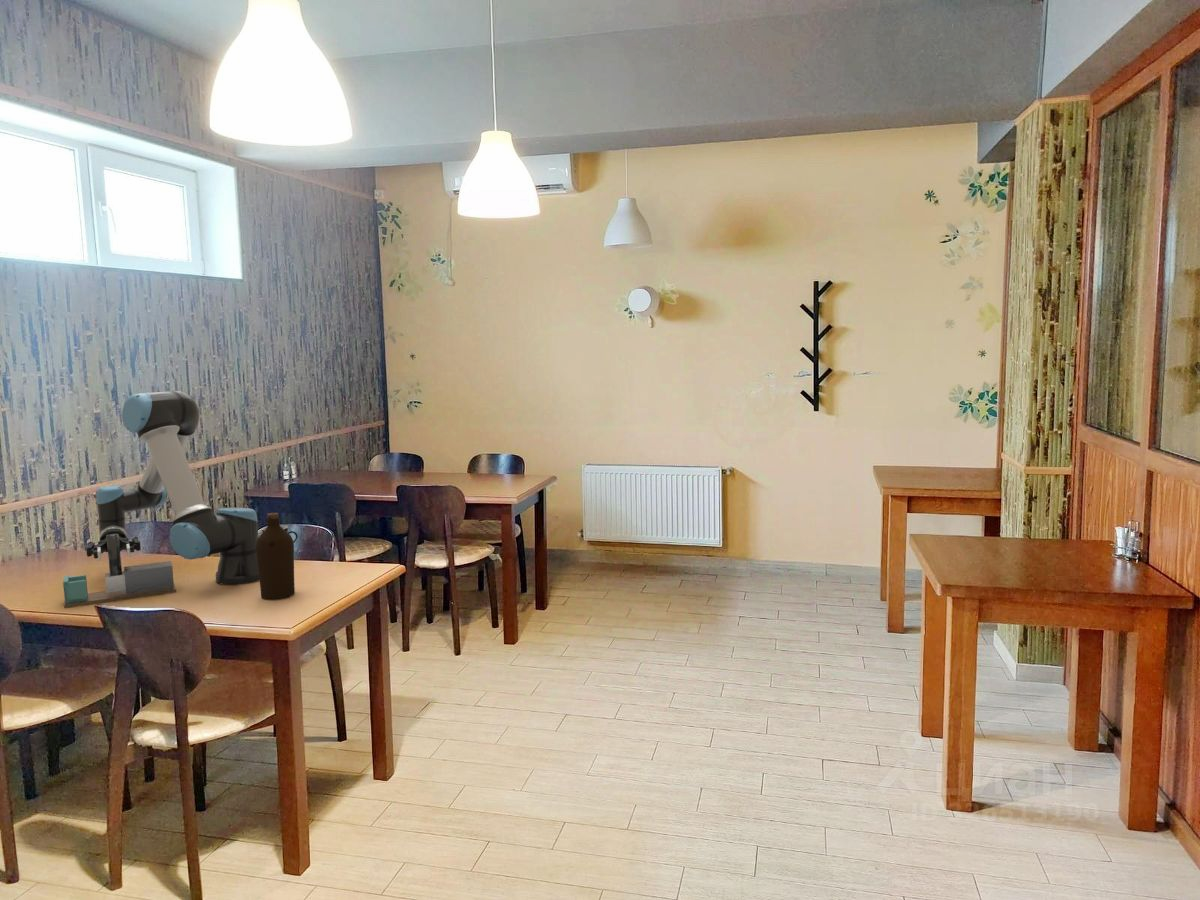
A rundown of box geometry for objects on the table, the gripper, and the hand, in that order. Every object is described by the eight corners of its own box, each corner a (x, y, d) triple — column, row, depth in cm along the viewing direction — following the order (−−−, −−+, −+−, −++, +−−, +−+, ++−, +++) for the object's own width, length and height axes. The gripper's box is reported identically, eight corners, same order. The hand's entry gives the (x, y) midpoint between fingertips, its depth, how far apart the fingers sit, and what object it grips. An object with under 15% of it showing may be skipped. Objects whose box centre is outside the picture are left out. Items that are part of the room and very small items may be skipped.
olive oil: (302, 595, 251) (297, 513, 248) (267, 603, 243) (261, 518, 240) (288, 588, 258) (283, 508, 255) (253, 595, 251) (247, 513, 248)
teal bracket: (87, 594, 252) (85, 573, 251) (87, 600, 246) (85, 578, 245) (66, 597, 249) (64, 576, 248) (65, 603, 243) (63, 581, 242)
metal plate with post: (165, 580, 261) (161, 527, 259) (166, 584, 257) (162, 530, 255) (106, 589, 253) (101, 534, 251) (106, 592, 249) (101, 537, 247)
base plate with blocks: (173, 584, 265) (171, 559, 264) (176, 592, 256) (174, 566, 255) (65, 599, 250) (62, 573, 249) (64, 608, 242) (61, 581, 241)
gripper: (149, 546, 272) (153, 561, 252) (78, 555, 262) (75, 571, 242) (147, 524, 271) (151, 537, 251) (75, 531, 261) (73, 546, 241)
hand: (114, 554), depth 247 cm, fingers open, 7 cm apart
